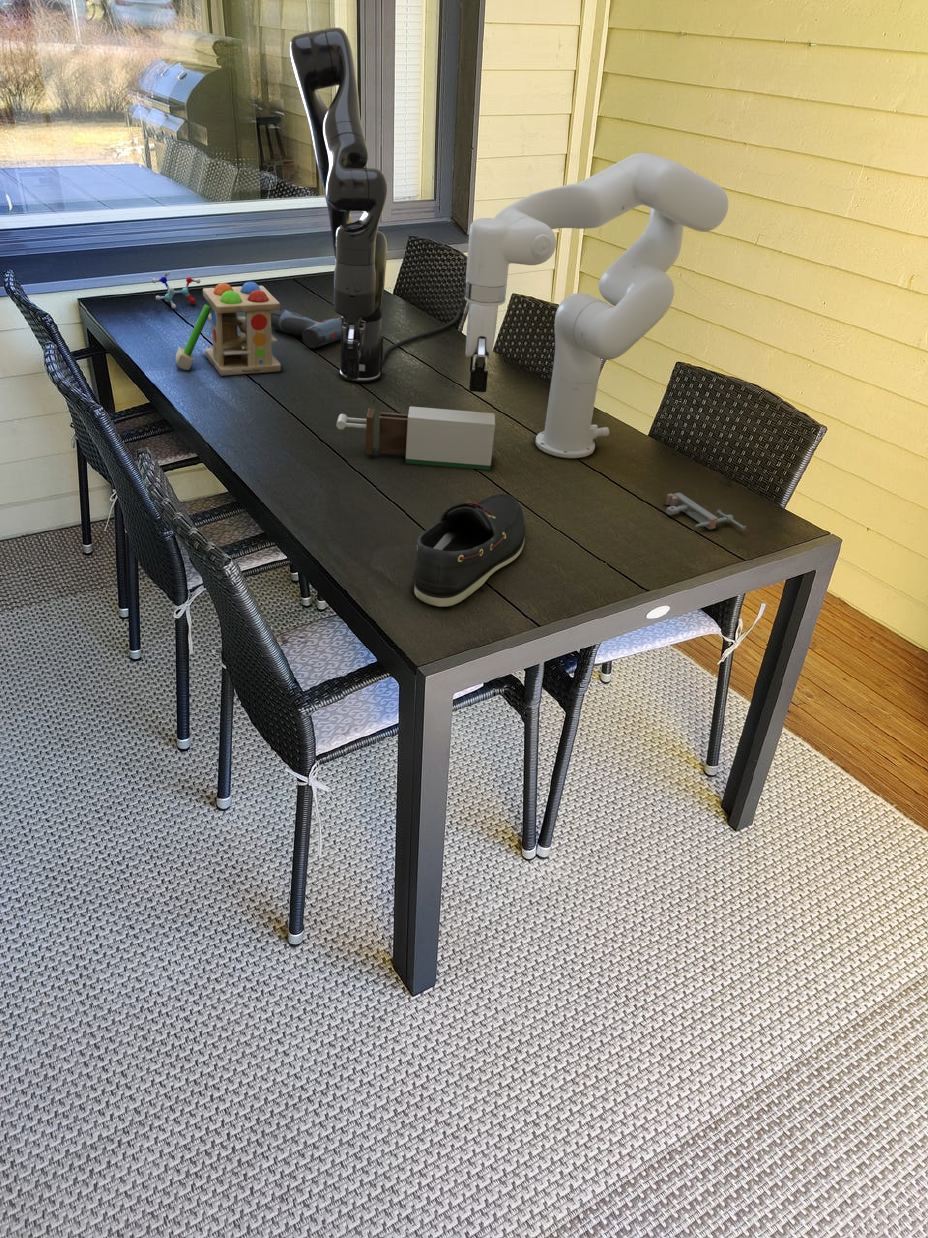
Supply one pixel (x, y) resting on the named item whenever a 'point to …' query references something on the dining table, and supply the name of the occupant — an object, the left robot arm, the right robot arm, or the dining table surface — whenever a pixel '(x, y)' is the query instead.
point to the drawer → (381, 431)
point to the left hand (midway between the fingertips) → (352, 377)
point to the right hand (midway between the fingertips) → (477, 381)
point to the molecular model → (172, 292)
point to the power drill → (307, 327)
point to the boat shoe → (467, 548)
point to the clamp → (677, 506)
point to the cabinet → (450, 438)
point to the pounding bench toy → (229, 347)
